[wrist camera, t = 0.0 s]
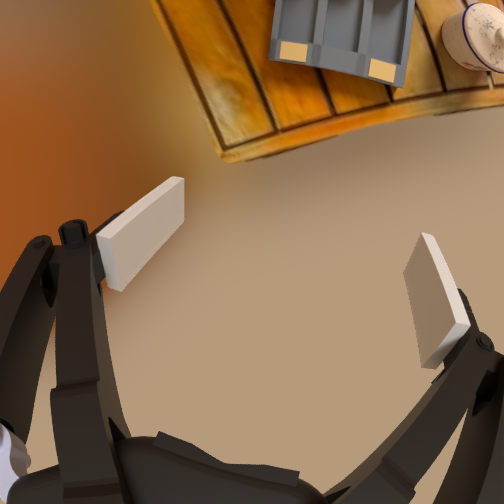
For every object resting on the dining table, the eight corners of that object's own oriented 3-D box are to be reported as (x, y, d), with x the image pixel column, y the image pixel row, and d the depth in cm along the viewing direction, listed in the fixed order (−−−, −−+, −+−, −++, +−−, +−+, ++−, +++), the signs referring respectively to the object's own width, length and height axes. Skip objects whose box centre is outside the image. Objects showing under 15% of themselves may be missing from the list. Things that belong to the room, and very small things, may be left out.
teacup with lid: (456, 77, 27) (495, 80, 18) (427, 19, 24) (459, 1, 14) (512, 63, 22) (557, 67, 12) (487, 8, 18) (527, -5, 9)
